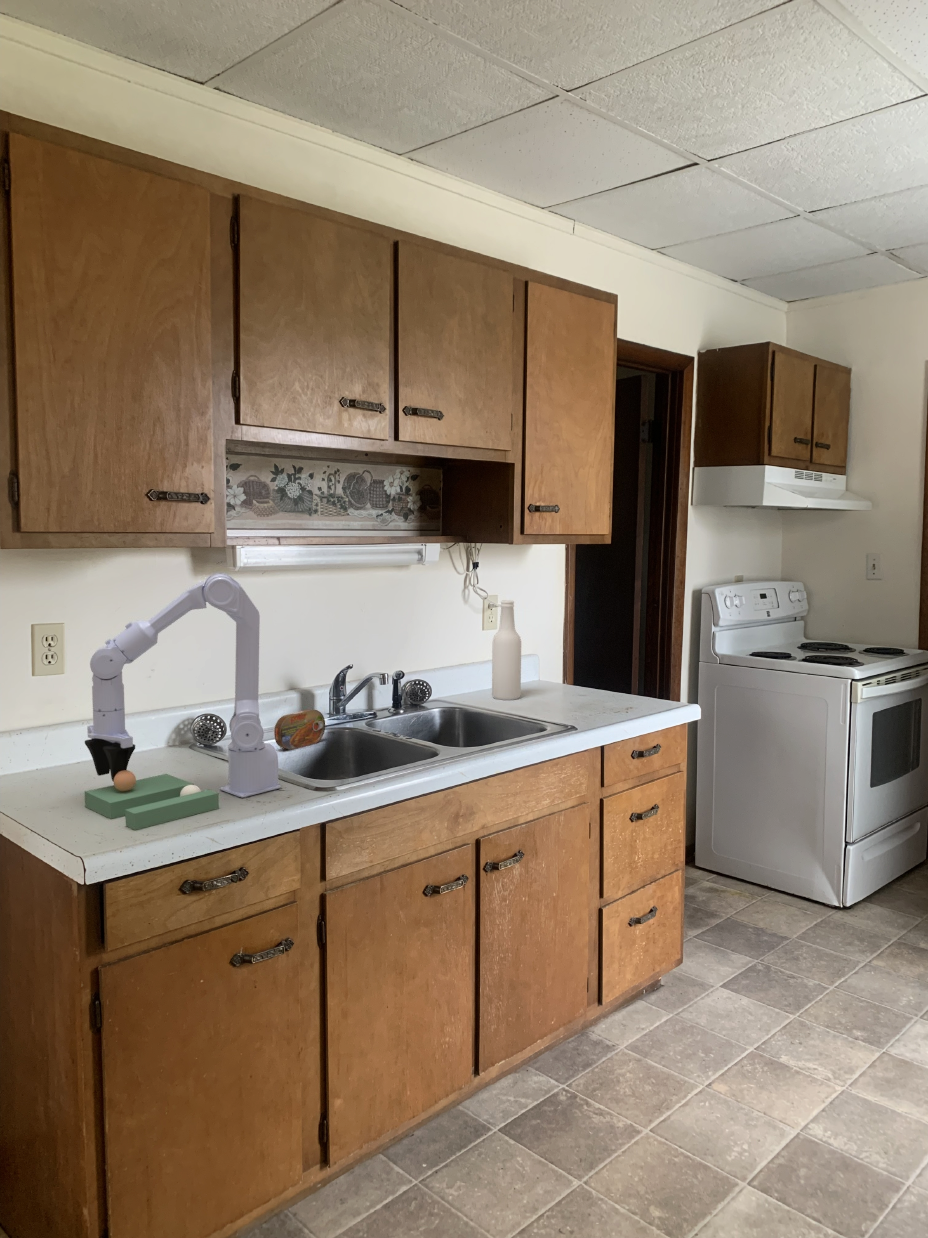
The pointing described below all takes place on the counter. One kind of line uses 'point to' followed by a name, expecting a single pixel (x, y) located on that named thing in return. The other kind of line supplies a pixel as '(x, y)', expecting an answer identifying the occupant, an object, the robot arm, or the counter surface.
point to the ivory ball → (189, 790)
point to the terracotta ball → (124, 780)
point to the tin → (299, 729)
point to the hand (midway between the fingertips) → (110, 777)
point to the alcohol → (506, 656)
